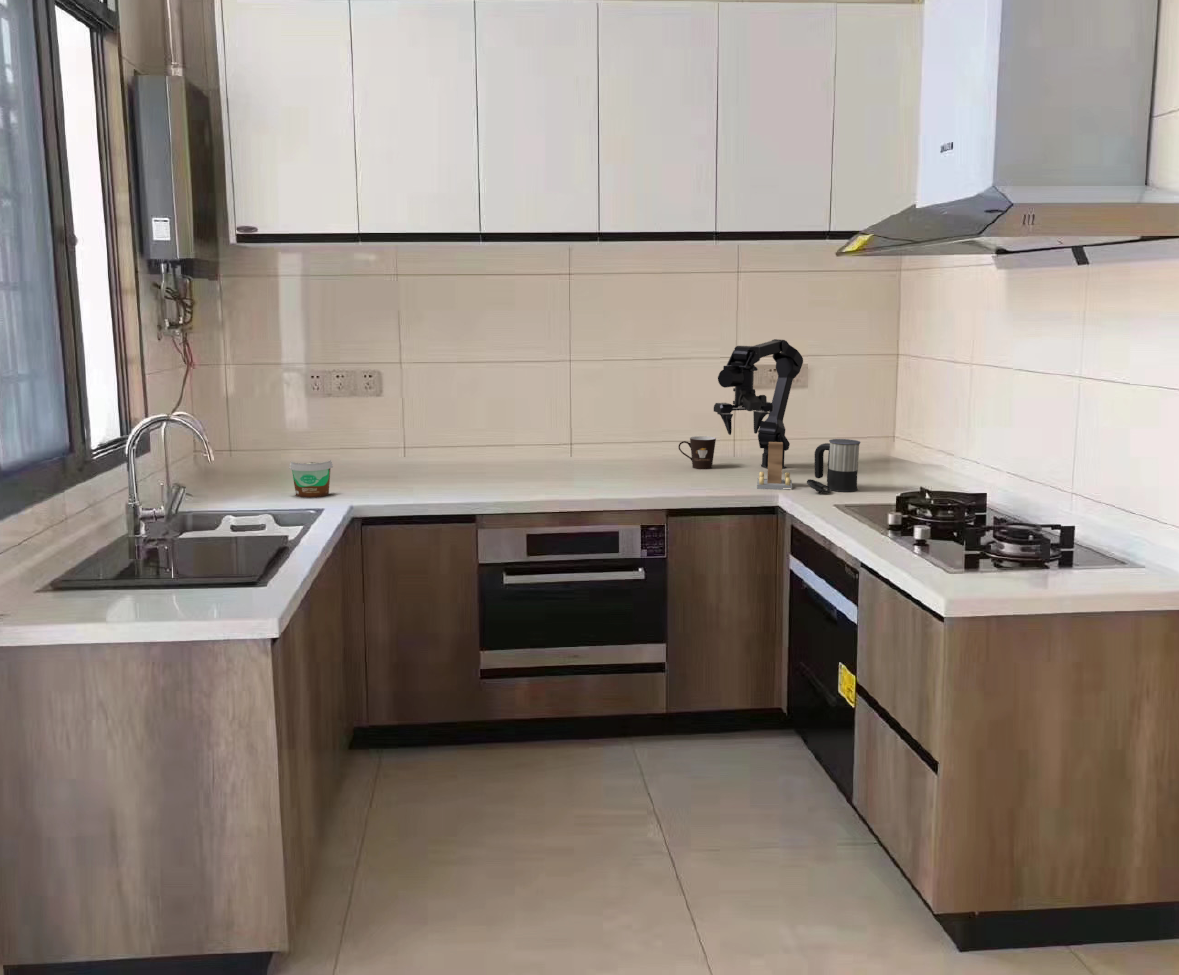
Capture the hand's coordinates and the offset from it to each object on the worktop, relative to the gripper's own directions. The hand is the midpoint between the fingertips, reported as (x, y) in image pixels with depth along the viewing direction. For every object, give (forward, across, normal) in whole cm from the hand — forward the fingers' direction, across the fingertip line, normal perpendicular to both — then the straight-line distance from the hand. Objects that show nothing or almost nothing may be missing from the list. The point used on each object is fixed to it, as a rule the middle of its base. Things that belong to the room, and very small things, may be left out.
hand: (742, 434), depth 361 cm
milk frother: (+13, +13, -34) cm, 39 cm away
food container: (+13, -135, +5) cm, 136 cm away
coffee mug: (+13, -8, +16) cm, 22 cm away
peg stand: (+13, 0, -22) cm, 26 cm away
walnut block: (+12, 0, -22) cm, 25 cm away
